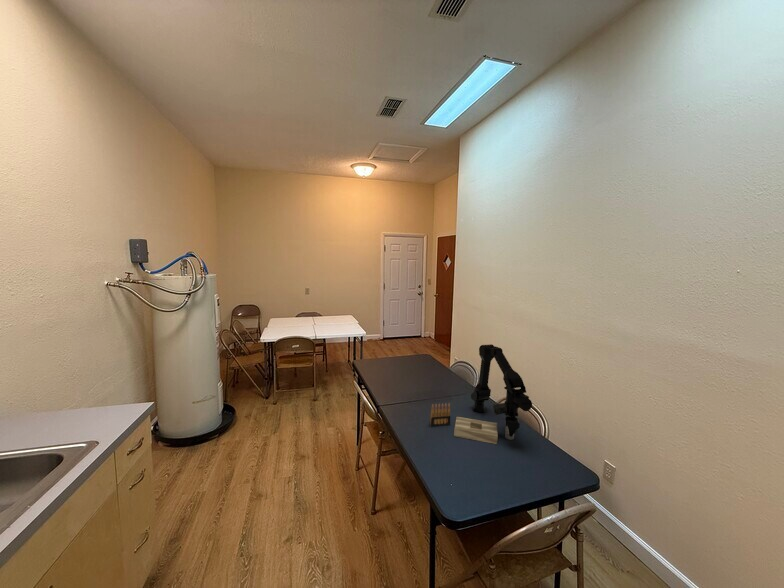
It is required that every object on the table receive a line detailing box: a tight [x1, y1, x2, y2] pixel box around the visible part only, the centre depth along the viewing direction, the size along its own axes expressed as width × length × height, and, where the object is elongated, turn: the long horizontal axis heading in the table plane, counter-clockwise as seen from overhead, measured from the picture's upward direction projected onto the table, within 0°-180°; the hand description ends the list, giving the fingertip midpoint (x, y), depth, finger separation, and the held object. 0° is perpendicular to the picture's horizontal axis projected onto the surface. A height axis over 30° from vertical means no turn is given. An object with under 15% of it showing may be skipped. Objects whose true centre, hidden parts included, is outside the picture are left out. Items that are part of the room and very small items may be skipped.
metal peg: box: [504, 415, 515, 440], centre depth 155 cm, size 4×4×10 cm
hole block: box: [453, 416, 499, 445], centre depth 158 cm, size 12×20×4 cm, turn 73°
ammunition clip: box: [429, 402, 451, 428], centre depth 164 cm, size 11×2×12 cm, turn 100°
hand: (509, 431), depth 155 cm, fingers open, 9 cm apart
